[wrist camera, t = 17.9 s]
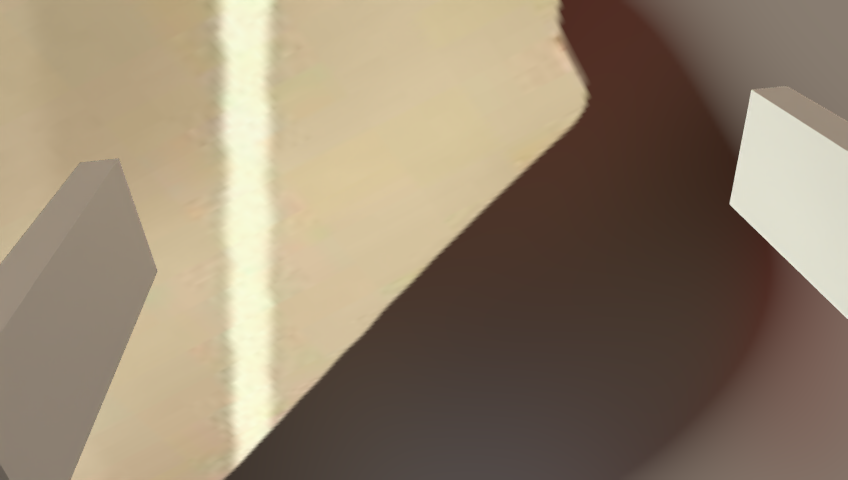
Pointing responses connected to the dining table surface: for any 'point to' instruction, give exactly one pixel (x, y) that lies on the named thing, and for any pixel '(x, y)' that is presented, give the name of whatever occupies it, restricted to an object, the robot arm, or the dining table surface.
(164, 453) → the dining table surface
